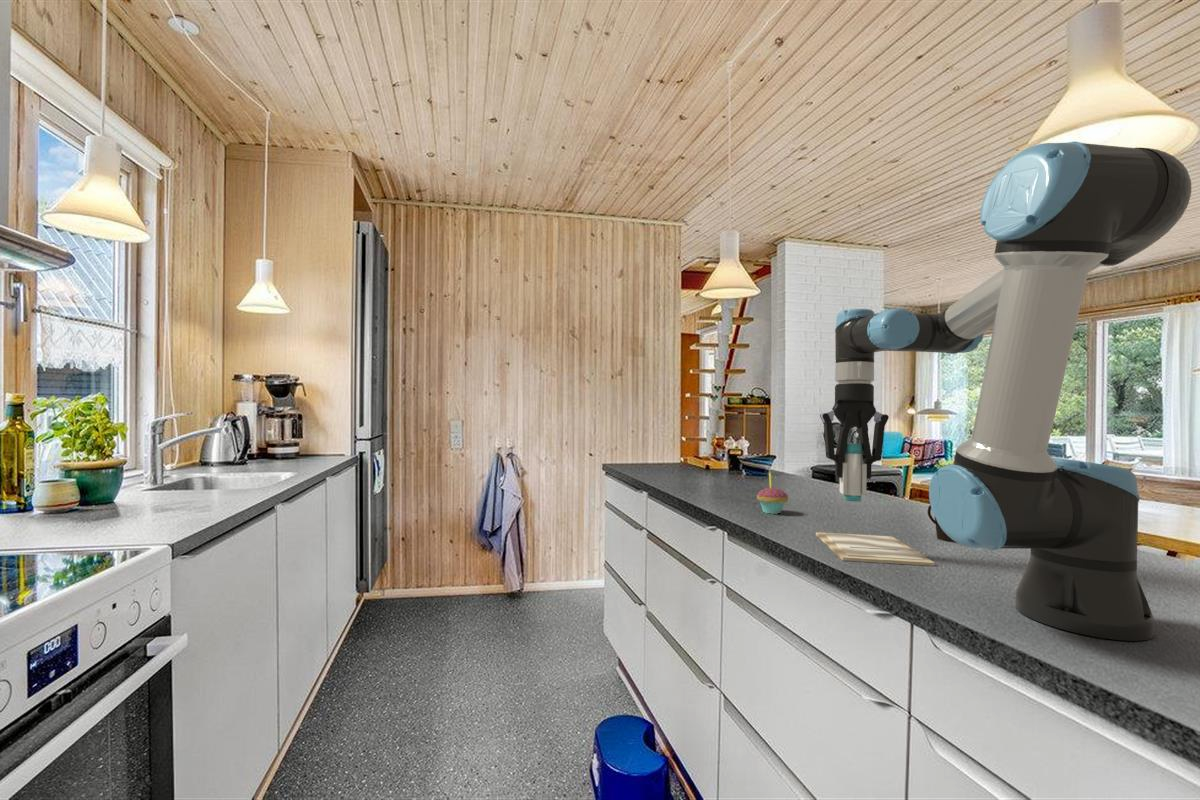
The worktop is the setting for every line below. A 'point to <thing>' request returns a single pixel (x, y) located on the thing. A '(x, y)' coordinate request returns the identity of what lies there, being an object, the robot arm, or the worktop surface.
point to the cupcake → (772, 498)
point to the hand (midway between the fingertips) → (852, 493)
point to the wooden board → (872, 549)
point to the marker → (853, 471)
